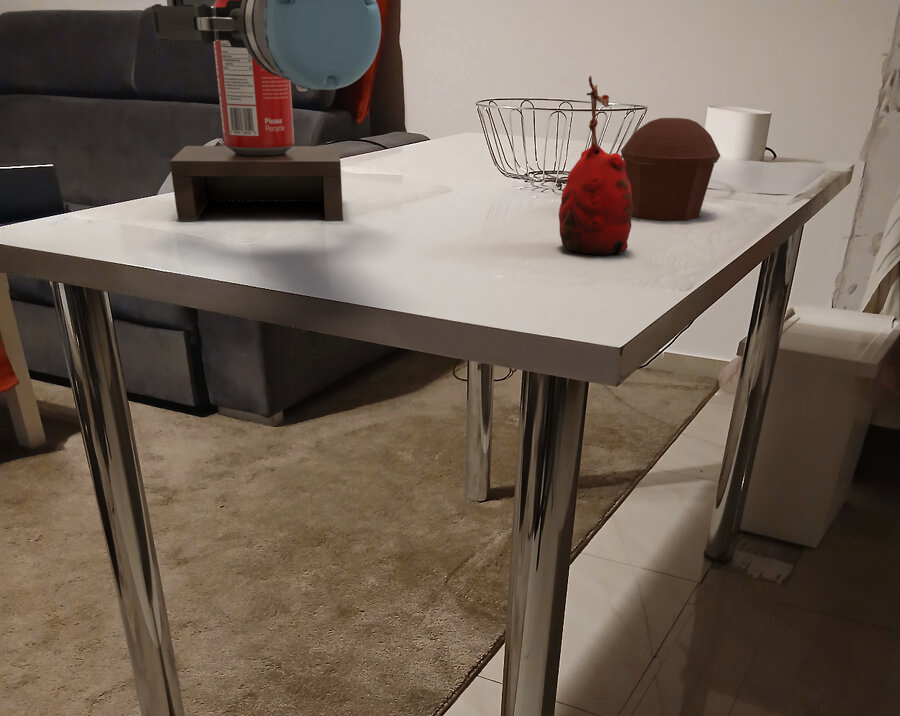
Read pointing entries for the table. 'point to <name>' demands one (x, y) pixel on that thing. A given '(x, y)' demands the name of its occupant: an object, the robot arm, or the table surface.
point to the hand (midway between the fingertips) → (257, 24)
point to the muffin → (669, 168)
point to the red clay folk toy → (596, 198)
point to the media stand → (256, 178)
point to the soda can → (252, 103)
